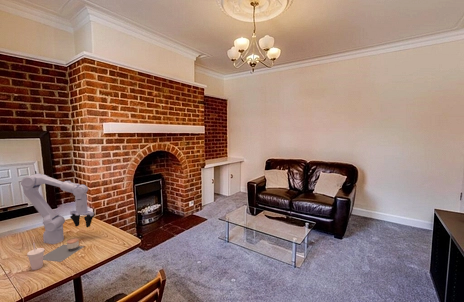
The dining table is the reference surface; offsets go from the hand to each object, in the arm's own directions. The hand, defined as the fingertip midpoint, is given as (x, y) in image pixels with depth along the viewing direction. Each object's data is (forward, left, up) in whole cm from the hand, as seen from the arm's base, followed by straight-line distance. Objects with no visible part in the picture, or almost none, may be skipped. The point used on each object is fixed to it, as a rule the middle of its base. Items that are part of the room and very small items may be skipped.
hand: (82, 226), depth 134 cm
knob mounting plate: (+1, -16, -9) cm, 18 cm away
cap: (+4, -12, -6) cm, 14 cm away
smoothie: (+1, -29, -10) cm, 30 cm away
